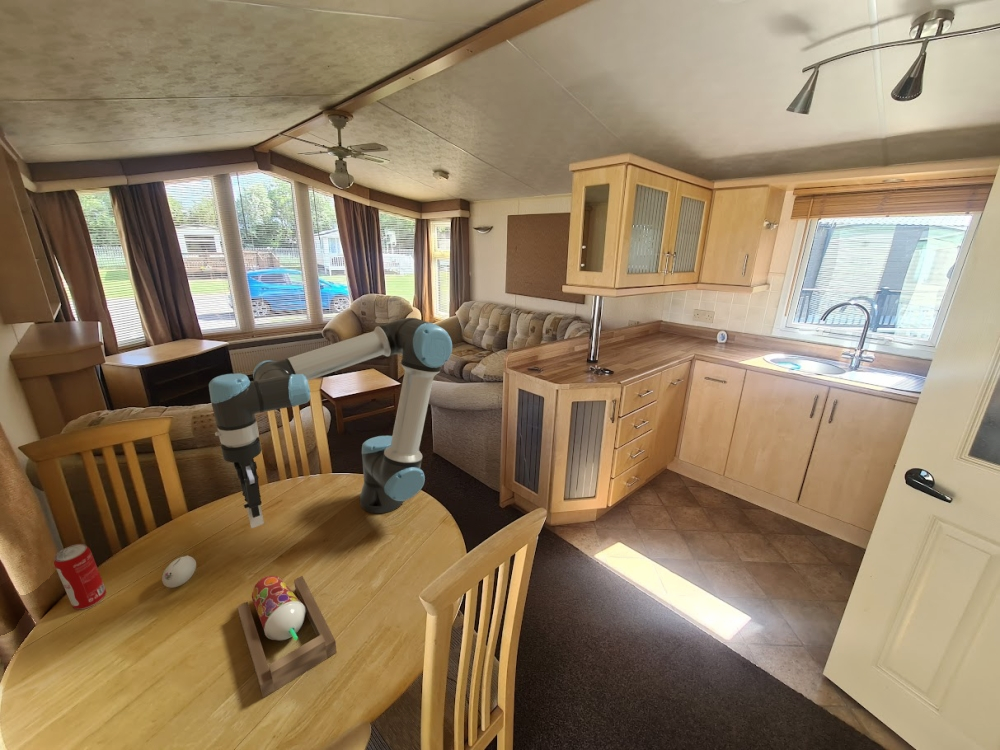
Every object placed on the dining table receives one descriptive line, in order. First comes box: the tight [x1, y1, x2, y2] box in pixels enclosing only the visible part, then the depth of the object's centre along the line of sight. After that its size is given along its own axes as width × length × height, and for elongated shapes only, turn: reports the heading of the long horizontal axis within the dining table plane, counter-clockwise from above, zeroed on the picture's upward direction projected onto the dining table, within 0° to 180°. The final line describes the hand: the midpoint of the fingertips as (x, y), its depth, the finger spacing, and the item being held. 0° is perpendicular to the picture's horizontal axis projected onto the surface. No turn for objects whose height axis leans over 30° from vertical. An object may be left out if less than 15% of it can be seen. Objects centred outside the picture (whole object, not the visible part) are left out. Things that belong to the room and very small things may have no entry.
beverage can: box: [53, 543, 107, 610], centre depth 91 cm, size 6×6×15 cm
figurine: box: [161, 554, 197, 588], centre depth 98 cm, size 8×6×7 cm
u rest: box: [237, 575, 338, 699], centre depth 87 cm, size 14×22×5 cm, turn 42°
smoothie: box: [251, 575, 306, 641], centre depth 89 cm, size 8×8×20 cm
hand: (257, 524), depth 98 cm, fingers closed
